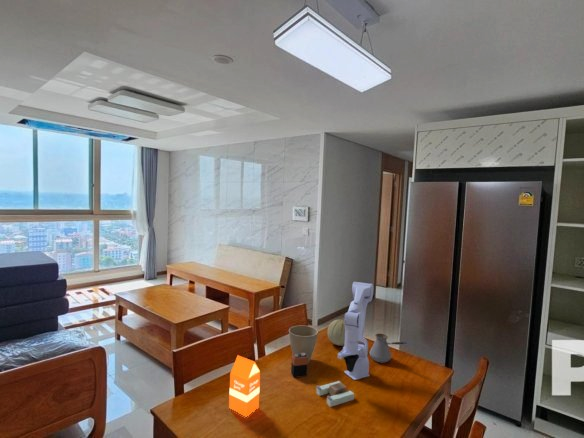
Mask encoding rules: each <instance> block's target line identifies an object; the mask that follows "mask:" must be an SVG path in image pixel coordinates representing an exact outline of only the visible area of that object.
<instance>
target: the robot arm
mask: <svg viewBox="0 0 584 438" xmlns="http://www.w3.org/2000/svg"><path fill="white" fill-rule="evenodd" d="M351 292H352V297H353V300H352V301H351V302H350V304H349V306H348V307H349V308H348V309H347V312H345V313H344V318H343V319H344V324H345V346H342V349H341V351H340V352H338V353H337V359H338V360H339V359H340V360H344V362H345V366H346V370H344V371H343V372H344V374H345V375H347V376H348V377H350V378H351V379H352V380H354V381H356V380H360V379H365V378H368V377H370V373H369V370H370V369H369V368H370V361H369V357H368V352H369V341H368V340H367V339H366V338H365V337H364V332H365V331H364V330H365V324H366V314H367V313H366V312H367V306H368V304H369V303H370V302H372V300H373V296H374V284H373V283H367V282H358V281H353V282H352V287H351Z"/></svg>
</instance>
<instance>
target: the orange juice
mask: <svg viewBox="0 0 584 438" xmlns="http://www.w3.org/2000/svg"><path fill="white" fill-rule="evenodd" d="M259 368H260V367H258V365H257V363H256V362H255V361H254V360H251V359H248V358H246V357H243V356H241V355H239V354H237V356H236V358H235V361H234V364H233V365H232V368H231V371H230V373H229V393H228V395H229V398H228V409H229V408H230V409H232V410H234V411H236V412H238V413H239V414H241V415H243V416H245V417H247V416H248V417H249V415H250V414H251V413H252V412H253V413H255V410H256V409H257V410H258V409H259V407H260V406H259V405H260V391H261V390H260V389H261V387H260V386H261V382H260V381H261V371H260V369H259ZM257 410H256V411H257ZM253 413H252V414H253ZM239 414H238V415H239ZM252 414H251V415H252ZM241 415H240V416H241ZM251 415H250V416H251ZM243 416H242V417H243ZM245 417H244V418H245ZM248 417H247V418H248Z"/></svg>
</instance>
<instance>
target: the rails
mask: <svg viewBox="0 0 584 438" xmlns="http://www.w3.org/2000/svg"><path fill="white" fill-rule="evenodd" d="M340 382H341V381H340V380H337V381H334V382H330V383H326V384H323V385H316V389H315V393H316V394H317V395H318V396H319V397H321V396H323V395H327V394H328V395H327V396H326V405H328V407H329V408H330V407H331V408H332V407H334V406H337V405H340V404H344V403H347V402H349V401H354V400H355V393H354V392H353V391H351V390H348V391H347V390H346V392H343V393H340V394H337V395H333V396H330V395H329V387H330V385H334V384H337V383H340Z"/></svg>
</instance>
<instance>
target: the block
mask: <svg viewBox="0 0 584 438" xmlns="http://www.w3.org/2000/svg"><path fill="white" fill-rule="evenodd" d="M343 392H347V386H346V385H345V384H343V383H342V382H341V381H340V383H337V384H334V385H330V387H329V393H328V396H333V395H337V394H340V393H343Z"/></svg>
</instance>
